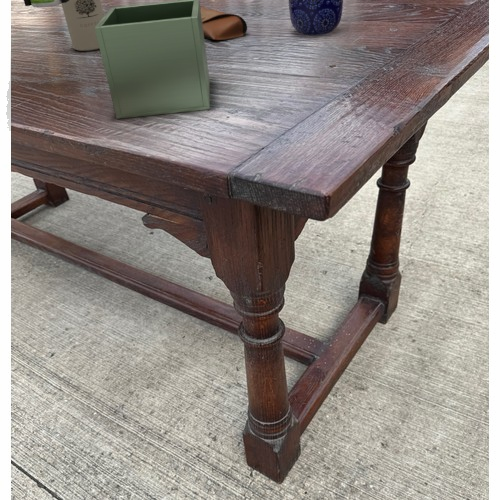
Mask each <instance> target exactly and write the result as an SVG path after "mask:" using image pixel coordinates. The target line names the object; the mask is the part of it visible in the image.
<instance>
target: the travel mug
mask: <svg viewBox="0 0 500 500" xmlns="http://www.w3.org/2000/svg"><path fill="white" fill-rule="evenodd" d="M61 8H62V11H63V15H64V18H65V22H66V26H67V30H68V33H69V37H70V41H71V45H72V48H73V49H74V50H76V51H78V52H93V51H97V50H100V49H99V45H98V41H97V36H96V32H95V27H96V26H97V24H98V23H99V22H100V21H101V19H102V18H103V17H104V16H105V13H104V9H103V5H102V0H69V1H68V2H66V3H62V4H61Z"/></svg>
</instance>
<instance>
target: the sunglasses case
mask: <svg viewBox="0 0 500 500" xmlns="http://www.w3.org/2000/svg"><path fill="white" fill-rule="evenodd" d="M200 9H201V17H202V25H203V33H204V39H207V40H214V41H223V40H224V41H226V40H231V39H236V38H241V37H244V36H245V35H246V34H247V31H248V25H247V21H246V20H245V19H244V18H243V17H242V16H240V15H238V14H235V13H226V12H223V11H220V10H215V9H210V8H206V7H203V6H202V5H200Z"/></svg>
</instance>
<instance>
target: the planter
mask: <svg viewBox="0 0 500 500" xmlns="http://www.w3.org/2000/svg"><path fill="white" fill-rule="evenodd" d="M343 8H344V0H288V9H289V10H288V11H289V19H290V23H291V25H292V27H293V29H294V30H295V31H296V32H297V33H299V34H301V35H304V36H322V35H327V34H330V33H332V32H334V31H335V30H336V29H337V27H338V26H339V25H340V23H341V20H342V16H343Z"/></svg>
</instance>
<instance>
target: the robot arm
mask: <svg viewBox="0 0 500 500" xmlns="http://www.w3.org/2000/svg"><path fill="white" fill-rule="evenodd" d="M68 1H69V0H61V2H62V3H66V2H68ZM23 2H24V6H25V7H30V6H32V4H31V1H30V0H23Z"/></svg>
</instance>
